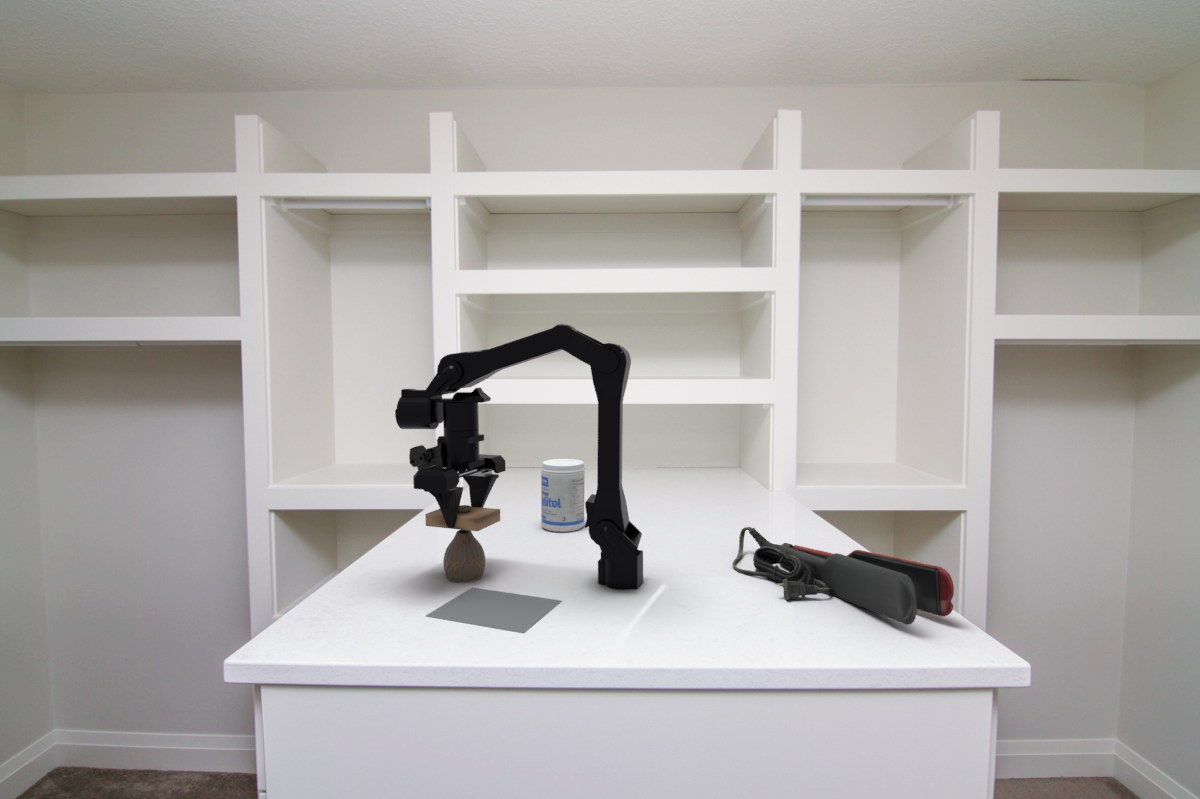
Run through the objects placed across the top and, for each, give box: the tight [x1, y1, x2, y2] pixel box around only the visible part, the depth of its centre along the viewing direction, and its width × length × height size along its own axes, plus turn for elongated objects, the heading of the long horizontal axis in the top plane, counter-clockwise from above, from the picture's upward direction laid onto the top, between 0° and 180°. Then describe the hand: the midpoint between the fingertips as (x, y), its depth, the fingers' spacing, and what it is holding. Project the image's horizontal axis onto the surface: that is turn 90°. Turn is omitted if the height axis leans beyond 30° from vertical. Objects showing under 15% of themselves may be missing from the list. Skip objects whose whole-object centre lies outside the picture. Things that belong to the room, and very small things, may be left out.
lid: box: [425, 504, 501, 532], centre depth 106 cm, size 10×7×3 cm
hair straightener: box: [732, 526, 955, 626], centre depth 102 cm, size 16×40×8 cm, turn 25°
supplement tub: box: [540, 458, 586, 533], centre depth 140 cm, size 10×10×15 cm
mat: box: [425, 587, 563, 634], centre depth 93 cm, size 16×12×1 cm
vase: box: [442, 529, 486, 583], centre depth 106 cm, size 7×7×9 cm
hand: (463, 522), depth 106 cm, fingers closed on lid, 7 cm apart
